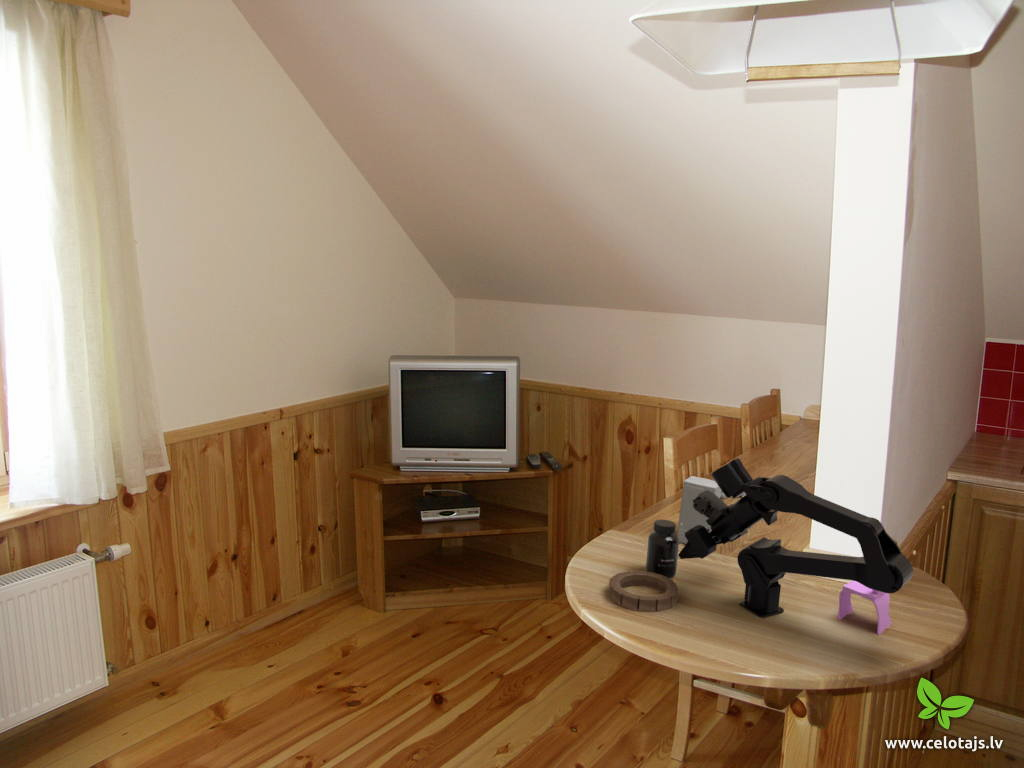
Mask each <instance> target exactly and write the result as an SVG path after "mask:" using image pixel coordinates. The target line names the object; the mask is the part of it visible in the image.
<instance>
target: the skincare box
mask: <svg viewBox="0 0 1024 768" xmlns="http://www.w3.org/2000/svg"><path fill="white" fill-rule="evenodd" d="M682 485H683V487H682V495H681V500H680V501H681V502H680V509H679V516H678V524H677V531H676V535H677V537H678V538H679V544H685V545H686V544H687V542H688V540H687V539H686V537H685V532H687V531H688V530H690V529H691V528H693V527H695V526H697V525H701V526H704V527H705V528H706V530H707V531H708V533H710V532H711V528H710V527H711V525H708V523H707V522H706V520H707V519H709V518H708V517H706V516H705V515H704V514H700V513H699V512H698V511H696V510H695V509H694V507H693V504H694V503H693V500H694V499H696V498H697V496H698V495H699V494H700V493H702V492H704V491H706V490H708V491H711V492H712V493H714V494H715V495H716V496H717V497H719V498H720V499H721V497H720V496H721V489H720V487H719V486H718V484H717V483H716V482H715V481H713V479H709V478H702V477H700V476H694V475H691V476H689V477H688V478H686V479H684V481H683V484H682Z"/></svg>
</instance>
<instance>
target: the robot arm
mask: <svg viewBox="0 0 1024 768" xmlns="http://www.w3.org/2000/svg"><path fill="white" fill-rule="evenodd" d="M710 476H711V478H712V480H713V479H714V480H715V482H716V483H717V484H718V486H719V487H720V489H721V490H722V492H723V493H724V494H725V496H726V497H727V499H730V498H731V497H732V499H733V500H734V499H737V498H738V497H741V496H740V495H742V494H743V493H745V494H746V495H745V496H744V497H741V498H740V499H738V500H736V501H735V502H734V503H732V504H729V505H727V503H726V502H724V499H723V500H722V499H721V497H720V498H719V497H717V496H716V495H715V494H714V493H712V492H711V491H708V490H706V491H704V492H702V493H700V494H699V495H698V496H697V498H696V499H694V500H693V503H694V504H693V507H694V509H695V510H696V511H698V512H699V513H700V514H704V515H705V516H706V517H708V518H709V519H707V520H706V522H707V523H708V525H711V527H710V528H711V532H710V533H708V531H707V530H706V528H705V527H704V526H701V525H697V526H695V527H693V528H691V529H690V530H688V531H687V532H685V537H686V539H687V540H688V542H687V544H685V545H684V546H683V548H682V549H681V550H680V552H678V557H679V559H680V560H686V559H687V560H688V559H701V560H703V559H705V558H707V557H708V556H710V555H711V554H714V553H715V552H716V551H717V546H718V545H721V544H723V545H725V544H728V543H733V542H734V541H737V540H738V539H740V538H741V537H743V536H744V535H746V534H748V532H749V531H748V530H749V529H751V528H752V527H753V526H754V525H756V524H758V522H760V521H762V520H763V521H764V522H765V524H766V525H767V526H771V525H773V524H775V523H776V522H777V521H778V512H780V513H787V514H796V515H801V516H802V517H805V518H808V519H810V520H813V521H815V522H817V523H819V524H823V525H825V526H827V527H829V528H831V529H834V530H835V531H838V532H841V533H843V534H845V535H848V536H850V537H852V538H854V539H856V540H857V542H858V543H859V546H860V549H861V554H862V556H849V555H840V554H830V553H819V552H811V551H801V550H792V549H791V550H790V549H787V548H786V547H783V546H782V540H781V539H780V538H778V539H775V538H774V539H769V538H766V537H764V536H763V537H762V538H760V539H758V540H756V541H754V542H752V543H751V544H749V545H748V546H746V547H745V548H743V549H741V550H740V551H739V552H738V554H737V561H736V562H737V564H738V567H739V568H740V570H741V575H742V577H743V581H744V584H745V589H744V601H743V600H742V601H740V602H739V606H741V607H742V608H744V609H746V610H747V611H749V612H751V613H752V614H754V615H756V616H757V617H759V618H766V617H769V616H772V615H776V614H780V613H784V611H785V609H784V607H781V606H780V598H781V597H780V596H781V589H782V584H780V583H779V580H781V579H783V578H784V577H785V575H786V574H795V575H803V576H810V577H811V576H813V577H820V578H828V579H839V580H846V581H857V582H859V583H860V584H862V585H864V586H866V587H867V588H870V589H873V590H877V591H880V592H884V593H889V594H895V593H897V592H898V591H900V590H901V589H902V588H903V587H904V586H905V585H906V584H907V583H908V582H909V581H910V580H911V579H912V577H913V575H914V567H913V564H912V563H911V561H910V560H909V558H908V557H906V555H904V554H903V553H902V551H901V549H900V546H899V545H898V544H897V543H896V541H895V540H894V539H893V537H891V536H890V534H889V533H887V531H886V529H885V527H884V526H883V524H882V522H881V521H880V520H878V518H875V517H871V516H867V515H864V514H862V513H860V512H857V511H855V510H852V509H849V508H848V507H845V506H843V505H840V504H837V503H835V502H833V501H830V500H827V499H825V498H822V497H820V496H819V495H815V494H814V493H811V492H810V491H808V490H807V489H806V488H805V487H804V486H803V485H802V484H800V483H799V482H797V481H796V480H794V479H793V478H791V477H789V476H787V475H785V474H777V475H775V476H773V477H765V476H764V477H763V476H758V477H756V478H753V477H752V475H750V473H749V472H748V470H747V469H746V468H745V466H744V464H743V462H742V460H741V459H740V458H738V457H737V458H735V459H732V460H731V461H729V462H727V463H726V464H724V465H723V466H721V467H718V468H716V469H715V470H714V471H713V472H711V474H710Z"/></svg>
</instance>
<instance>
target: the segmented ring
mask: <svg viewBox="0 0 1024 768" xmlns="http://www.w3.org/2000/svg"><path fill="white" fill-rule="evenodd" d="M677 585H678V584H677V583H676V582H675V581H674V580H672V579H671V578H667V577H666V576H663V575H660V574H656V573H652V572H648V573H647V571H646V570H632V571H631V570H628V571H623V572H618V573H616V574H614V575H613V576H612V577H611V578H609V585H608V586H609V587H608V594H609V598H610V600H612V602H615V603H616V605H618V606H621V607H622V608H627V609H630V610H633V611H635V612H636V611H638V612H648V613H649V612H652V613H654V612H655V613H656V612H658V613H659V612H662V611H665V610H670V609H671V608H673V607H674V606H675V605H676V604H677V603H678V596H679V588H678V586H677ZM631 586H636V587H637V586H638V587H639V586H640V587H641V586H642V587H649V588H653V589H657V590H658V591H660V592H662V593H659V594H656V595H645V594H644V595H643V594H641V595H640V594H637V593H633V592H630V591H627V590H626V589H625V588H628V587H631Z"/></svg>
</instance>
